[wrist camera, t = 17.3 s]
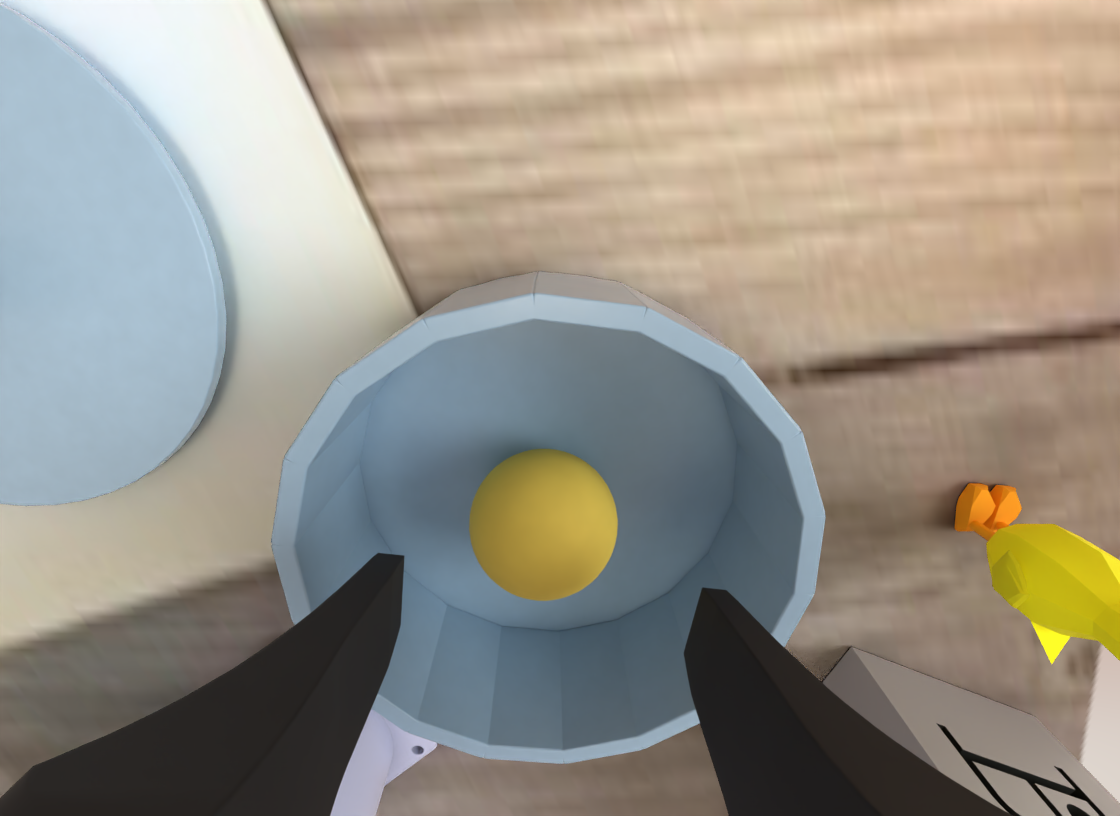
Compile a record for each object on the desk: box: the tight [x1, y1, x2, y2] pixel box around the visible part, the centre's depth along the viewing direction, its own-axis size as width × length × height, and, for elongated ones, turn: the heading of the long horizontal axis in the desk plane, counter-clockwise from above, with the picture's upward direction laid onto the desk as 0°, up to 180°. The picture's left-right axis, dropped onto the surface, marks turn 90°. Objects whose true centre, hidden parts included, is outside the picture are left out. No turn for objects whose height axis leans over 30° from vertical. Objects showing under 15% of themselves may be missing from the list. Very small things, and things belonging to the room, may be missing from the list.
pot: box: [271, 271, 826, 764], centre depth 16 cm, size 14×14×6 cm
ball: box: [469, 449, 618, 601], centre depth 16 cm, size 5×5×5 cm
